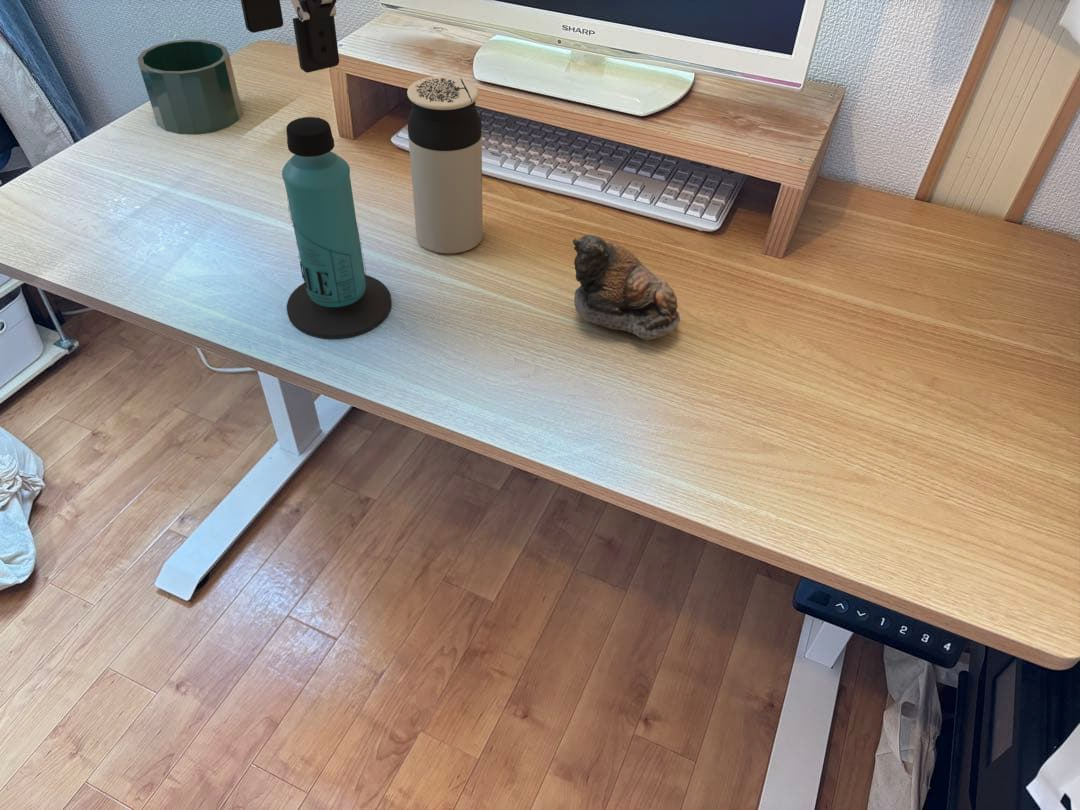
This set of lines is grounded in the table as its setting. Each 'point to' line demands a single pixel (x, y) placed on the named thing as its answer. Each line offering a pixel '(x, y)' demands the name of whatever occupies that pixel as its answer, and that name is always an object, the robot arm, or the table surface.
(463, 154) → the travel mug
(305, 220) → the beverage bottle
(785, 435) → the table surface
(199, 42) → the pot
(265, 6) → the robot arm
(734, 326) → the table surface
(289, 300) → the coaster
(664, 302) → the bison figurine
